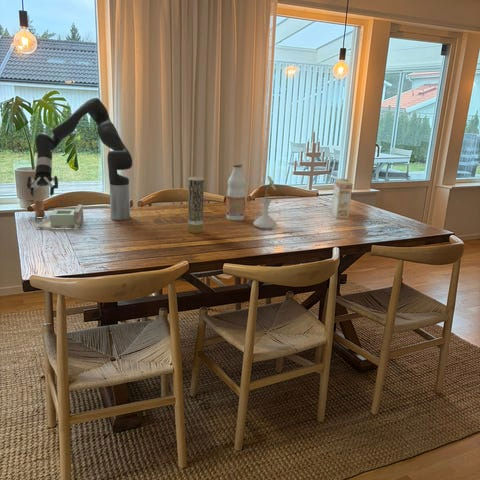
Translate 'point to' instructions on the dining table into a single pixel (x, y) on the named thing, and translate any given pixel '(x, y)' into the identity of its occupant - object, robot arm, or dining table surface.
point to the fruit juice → (236, 194)
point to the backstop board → (78, 222)
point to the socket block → (62, 217)
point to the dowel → (39, 208)
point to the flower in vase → (266, 211)
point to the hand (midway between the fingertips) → (42, 195)
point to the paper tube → (195, 204)
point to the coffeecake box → (341, 198)
